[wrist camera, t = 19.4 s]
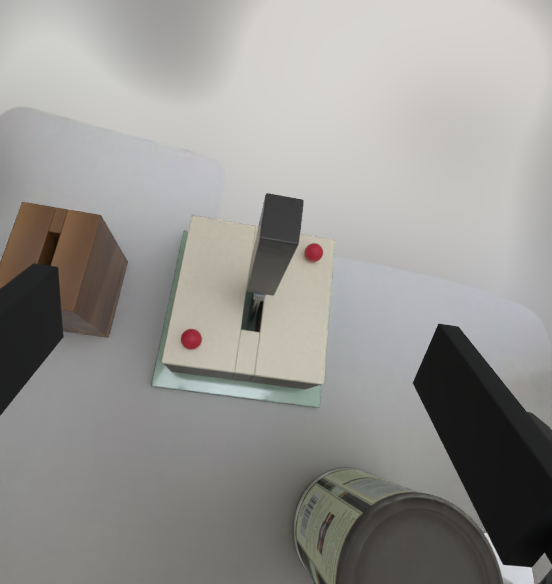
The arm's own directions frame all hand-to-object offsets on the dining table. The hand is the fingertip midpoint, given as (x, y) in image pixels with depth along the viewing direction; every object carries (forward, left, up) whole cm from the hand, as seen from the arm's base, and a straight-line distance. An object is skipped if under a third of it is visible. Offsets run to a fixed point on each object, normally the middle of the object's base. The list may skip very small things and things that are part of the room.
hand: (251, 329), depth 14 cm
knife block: (-16, -4, -26) cm, 31 cm away
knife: (-4, +6, -25) cm, 26 cm away
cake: (-4, +6, -25) cm, 26 cm away
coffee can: (+17, 0, -26) cm, 31 cm away
